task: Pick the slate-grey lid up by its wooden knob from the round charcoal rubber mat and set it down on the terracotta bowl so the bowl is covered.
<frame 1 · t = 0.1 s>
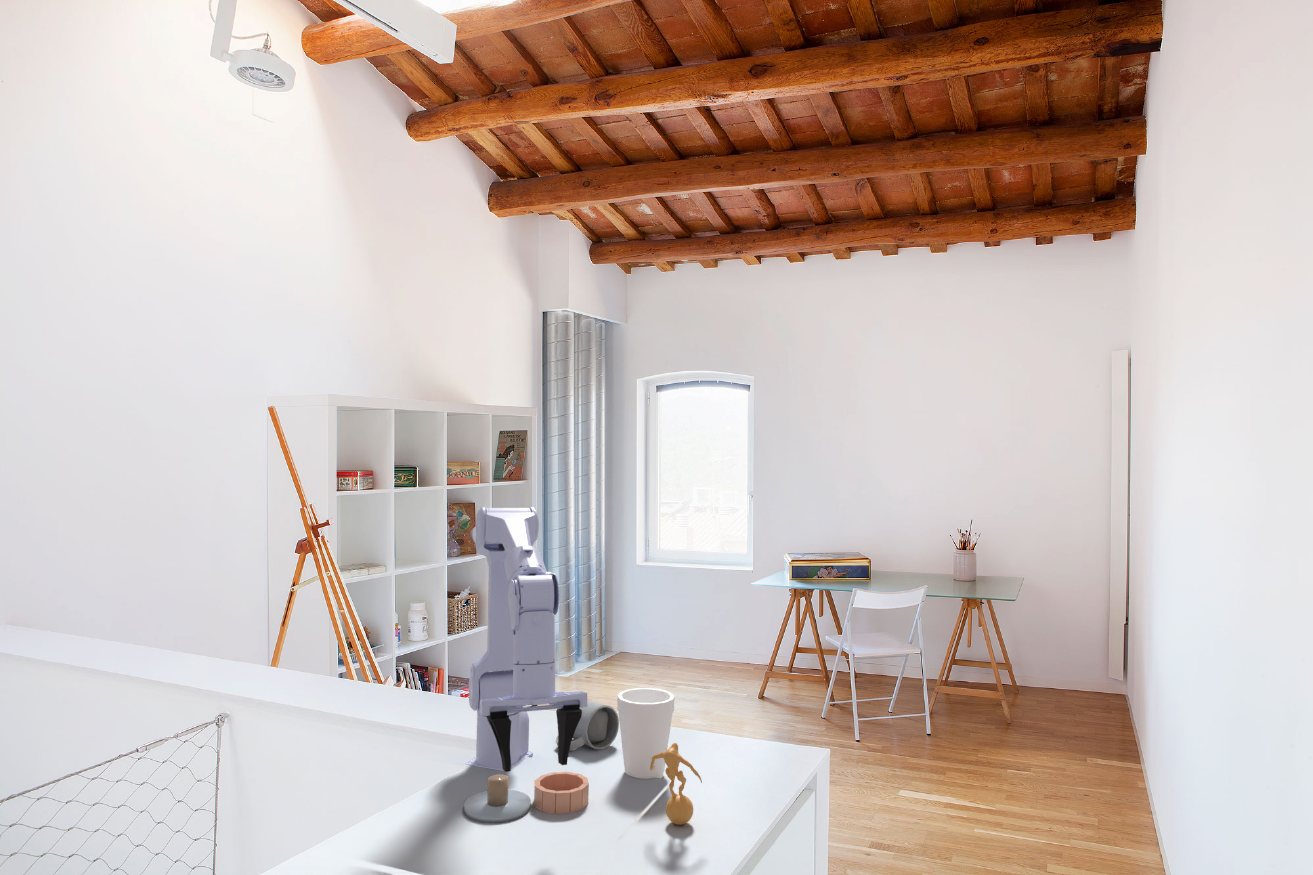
hand: (534, 766, 110), 10 cm above the table, tool pointing down, fingers open, 7 cm apart
mat: (497, 811, 120), on the table
bowl: (561, 805, 122), on the table
foam cup: (644, 776, 135), on the table
ceramic mug: (585, 746, 149), on the table
figurine: (675, 827, 116), on the table
lid: (497, 807, 120), point 1 cm above the table, touching mat
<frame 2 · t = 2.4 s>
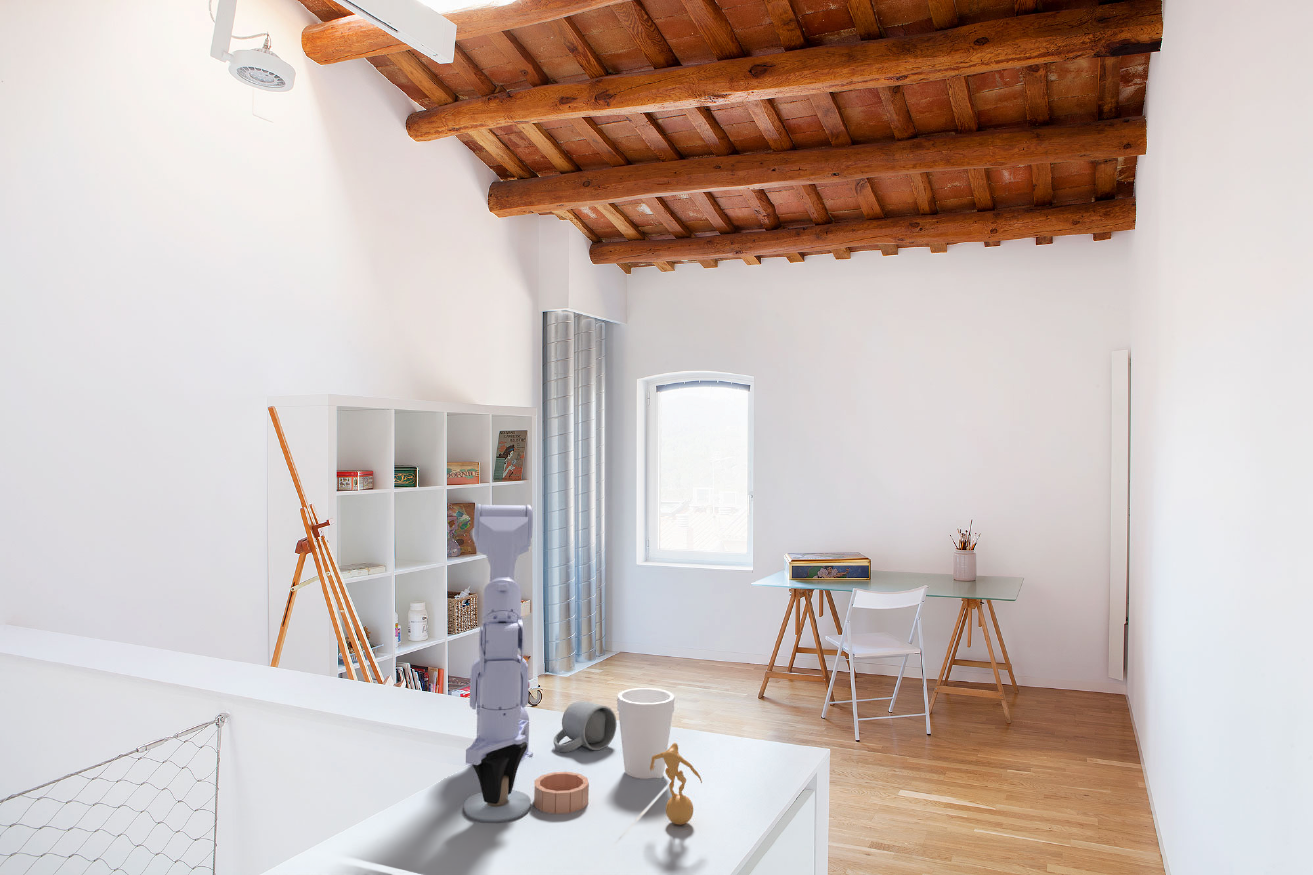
hand: (497, 797, 120), 2 cm above the table, tool pointing down, fingers closed on lid, 3 cm apart
lid: (497, 807, 120), point 1 cm above the table, touching gripper, mat
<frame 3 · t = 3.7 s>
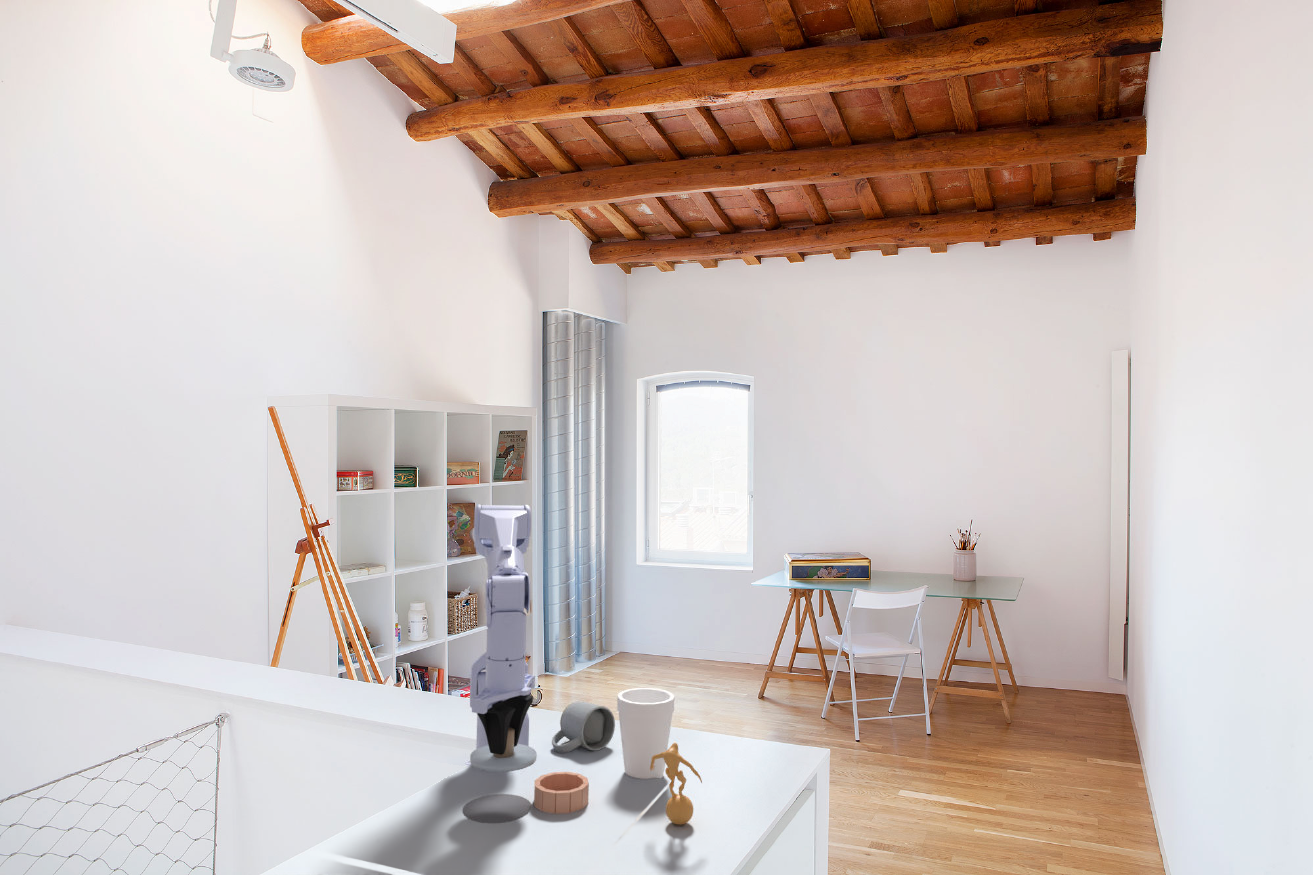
hand: (503, 749, 120), 9 cm above the table, tool pointing down, fingers closed on lid, 3 cm apart
lid: (503, 759, 120), point 8 cm above the table, touching gripper
when the fingers open (6 cm above the table, at t = 5.1 s): lid stays where it is, resting on bowl.
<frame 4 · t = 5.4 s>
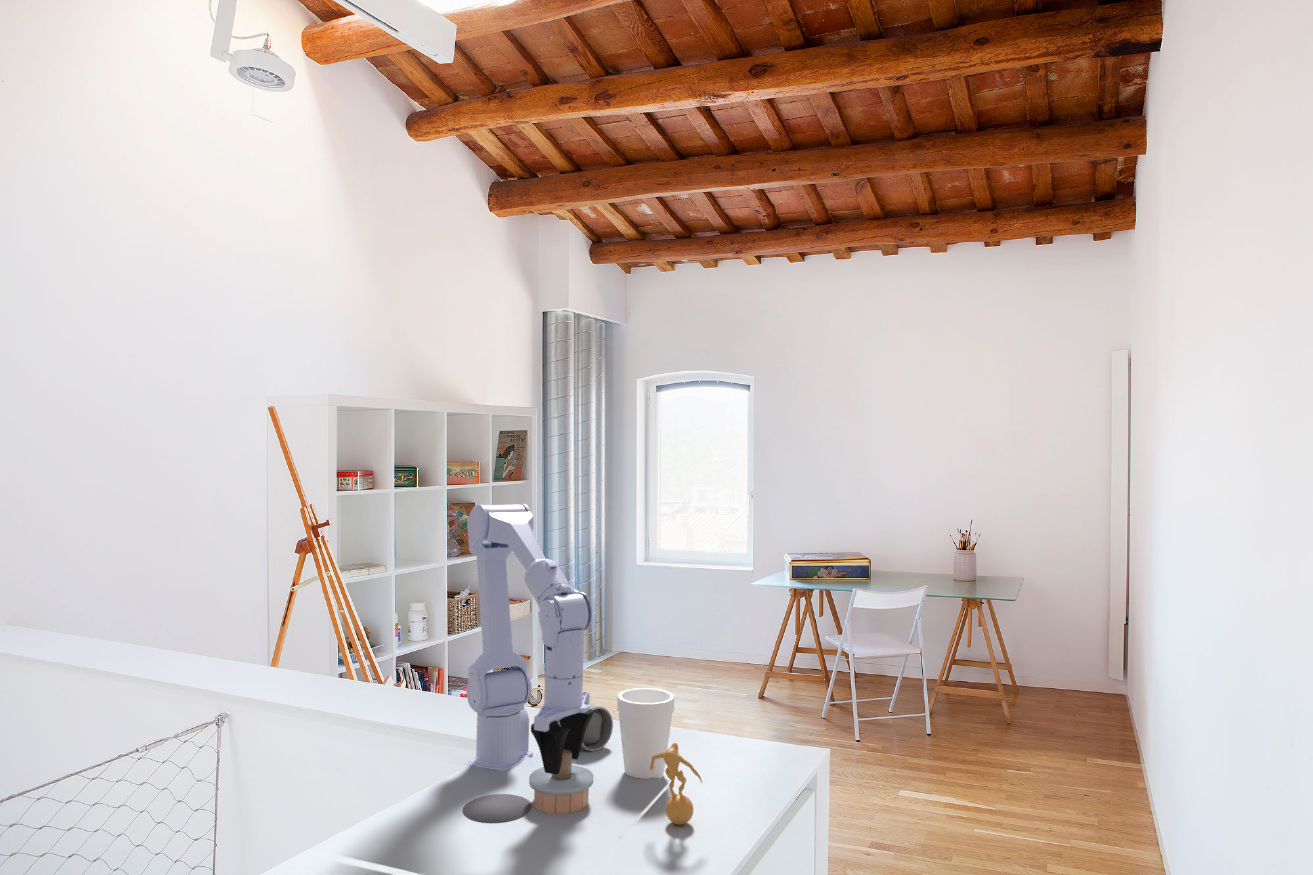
hand: (561, 765, 123), 6 cm above the table, tool pointing down, fingers open, 6 cm apart
lid: (561, 781, 123), point 3 cm above the table, touching bowl
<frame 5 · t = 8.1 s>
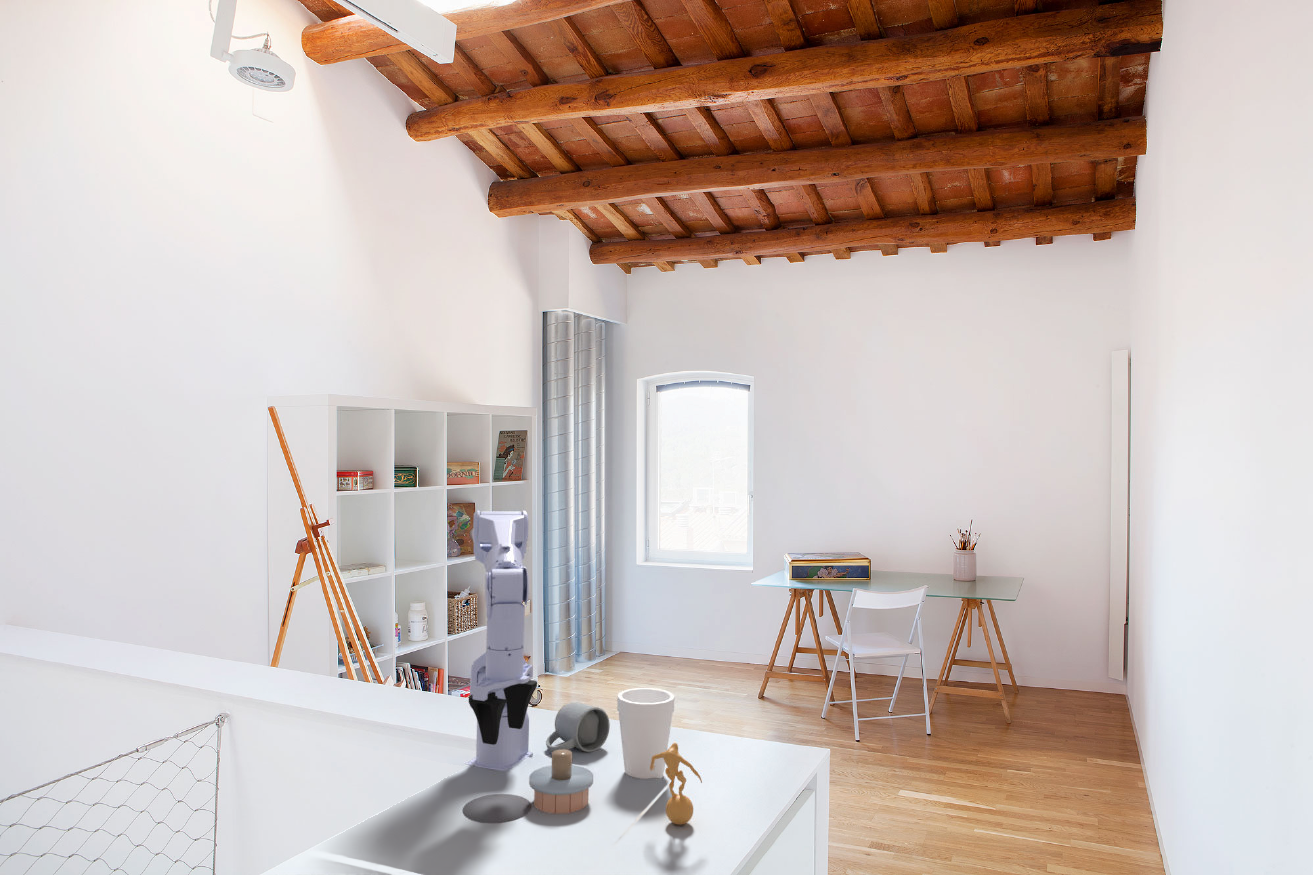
hand: (502, 735, 125), 9 cm above the table, tool pointing down, fingers open, 7 cm apart
at the end: lid 0.1 cm off-centre on the bowl, point 3.5 cm above the bowl's base; lid tilted 0°; the gripper is holding nothing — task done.
